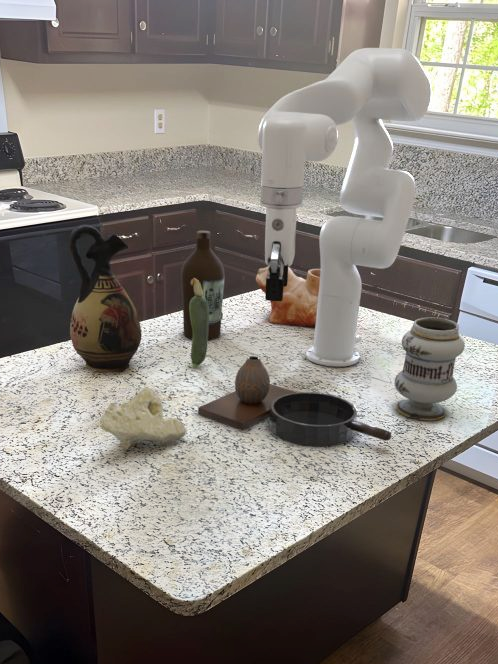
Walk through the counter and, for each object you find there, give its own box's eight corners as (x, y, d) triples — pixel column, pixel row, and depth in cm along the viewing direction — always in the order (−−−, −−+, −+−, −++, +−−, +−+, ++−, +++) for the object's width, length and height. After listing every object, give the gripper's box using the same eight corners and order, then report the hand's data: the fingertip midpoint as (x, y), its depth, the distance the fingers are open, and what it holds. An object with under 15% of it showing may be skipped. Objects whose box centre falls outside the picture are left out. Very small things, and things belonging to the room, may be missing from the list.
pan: (299, 404, 147) (301, 385, 145) (370, 426, 138) (372, 407, 136) (252, 428, 136) (253, 409, 134) (325, 454, 127) (327, 434, 125)
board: (258, 386, 154) (258, 380, 154) (301, 400, 149) (301, 393, 148) (198, 414, 141) (198, 407, 140) (242, 430, 135) (242, 423, 134)
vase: (272, 396, 146) (275, 354, 141) (263, 409, 140) (265, 366, 136) (240, 391, 148) (242, 350, 143) (229, 403, 142) (231, 361, 138)
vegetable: (209, 365, 165) (211, 276, 155) (206, 371, 161) (208, 280, 151) (190, 364, 165) (190, 274, 155) (187, 370, 162) (187, 279, 151)
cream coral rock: (170, 433, 138) (106, 386, 132) (193, 414, 133) (128, 364, 127) (150, 490, 128) (79, 443, 122) (173, 472, 123) (101, 421, 117)
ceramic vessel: (259, 308, 206) (262, 254, 198) (351, 318, 201) (357, 262, 193) (248, 322, 195) (251, 265, 187) (345, 332, 189) (352, 274, 182)
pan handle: (351, 426, 133) (352, 417, 132) (392, 440, 128) (393, 430, 127) (346, 429, 131) (347, 420, 130) (387, 443, 127) (389, 434, 126)
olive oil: (172, 333, 184) (172, 230, 171) (203, 326, 190) (204, 226, 177) (200, 344, 178) (202, 237, 165) (231, 335, 184) (235, 232, 171)
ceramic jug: (133, 352, 171) (129, 218, 155) (148, 375, 158) (145, 231, 143) (61, 358, 166) (49, 220, 150) (71, 381, 154) (58, 233, 138)
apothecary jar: (385, 417, 143) (400, 327, 133) (395, 395, 152) (408, 311, 143) (448, 427, 139) (467, 336, 130) (453, 405, 149) (471, 318, 140)
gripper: (299, 206, 120) (292, 307, 129) (305, 189, 134) (299, 281, 144) (254, 204, 121) (251, 305, 130) (265, 187, 135) (262, 279, 145)
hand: (276, 292), depth 137 cm, fingers open, 9 cm apart
